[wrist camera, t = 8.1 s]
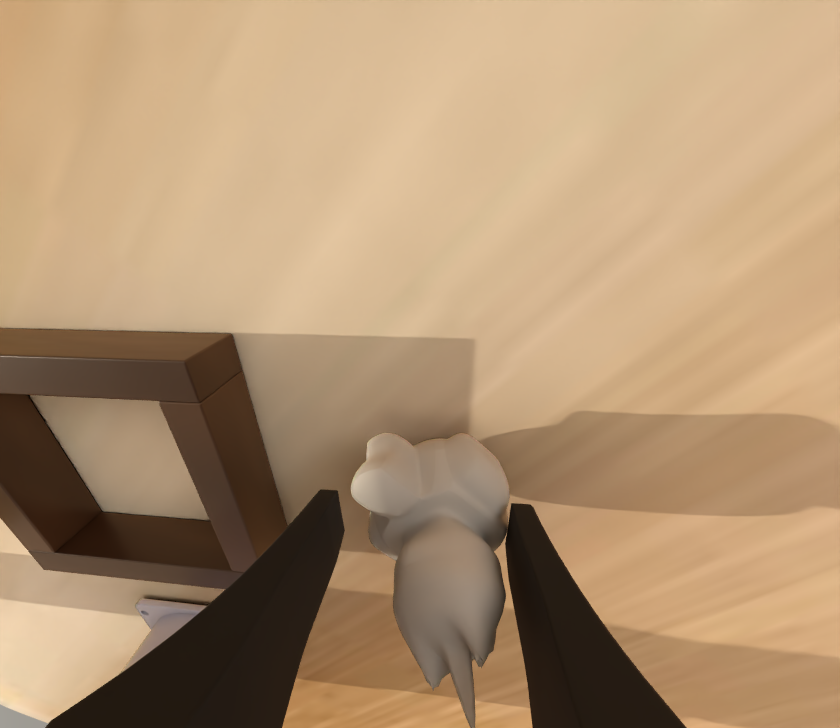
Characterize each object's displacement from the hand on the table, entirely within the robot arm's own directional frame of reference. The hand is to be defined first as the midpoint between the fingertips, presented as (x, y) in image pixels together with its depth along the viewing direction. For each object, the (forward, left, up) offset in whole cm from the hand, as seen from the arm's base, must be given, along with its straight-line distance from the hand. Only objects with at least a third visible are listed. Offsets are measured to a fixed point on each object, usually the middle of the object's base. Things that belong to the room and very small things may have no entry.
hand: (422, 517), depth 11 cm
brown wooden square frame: (-1, +14, -3) cm, 14 cm away
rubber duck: (0, 0, -3) cm, 3 cm away
